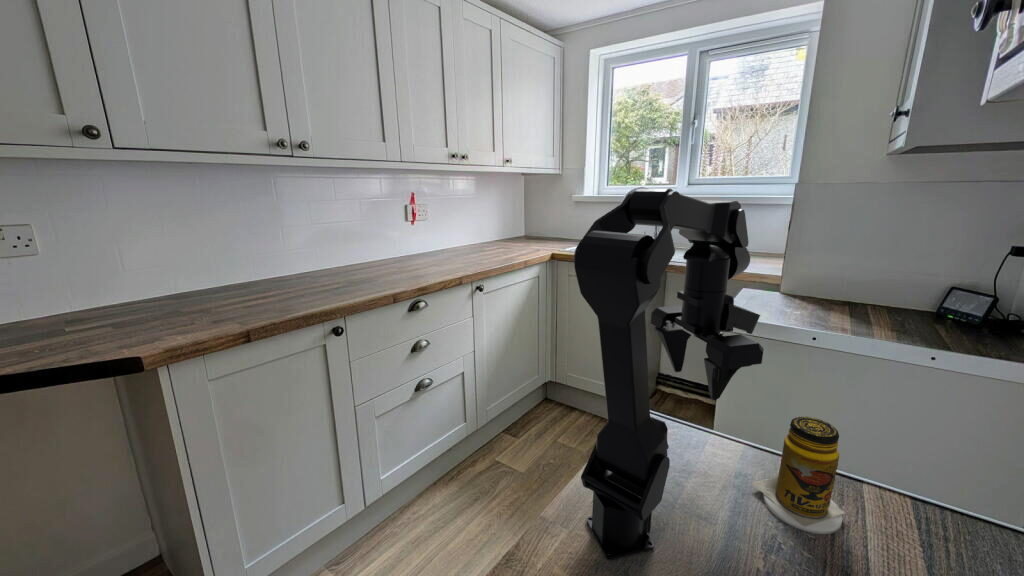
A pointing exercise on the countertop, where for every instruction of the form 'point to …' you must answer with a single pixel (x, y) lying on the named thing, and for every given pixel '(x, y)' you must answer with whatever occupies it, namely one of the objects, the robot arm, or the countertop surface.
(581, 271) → the robot arm
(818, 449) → the condiment
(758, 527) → the countertop surface
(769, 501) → the coaster
